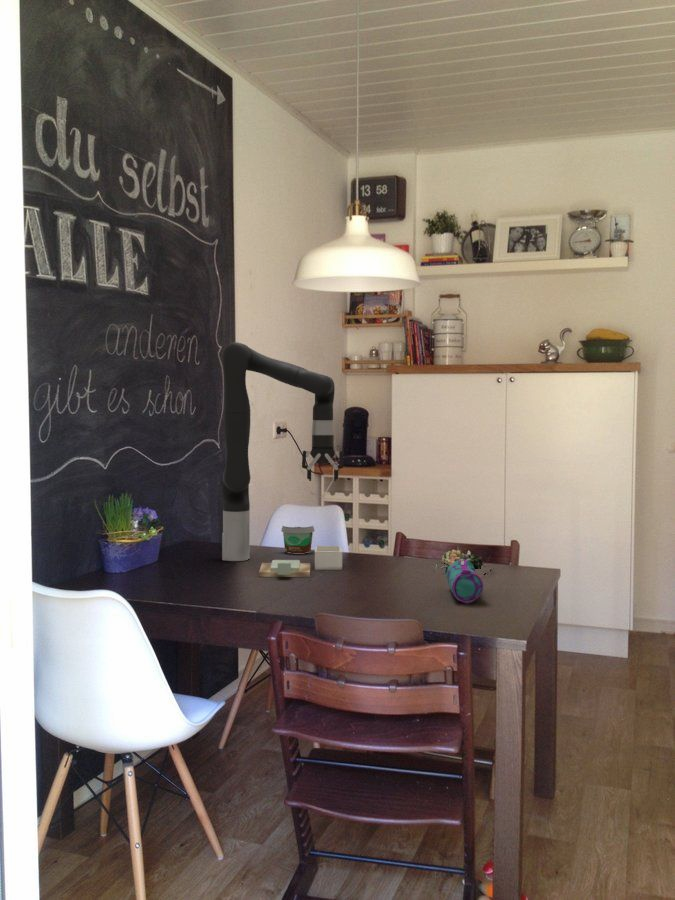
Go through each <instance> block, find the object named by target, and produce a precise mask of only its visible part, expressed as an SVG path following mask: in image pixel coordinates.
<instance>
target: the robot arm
mask: <svg viewBox="0 0 675 900" xmlns="http://www.w3.org/2000/svg"><path fill="white" fill-rule="evenodd" d="M222 365H223V376H224V377H223V378H224V393H223V395H224V396H223V397H224V398H223V433H224V440H225V446H226V459H225V460H226V461H225V462H226V464H225V469H224V470H223V473H222V480H221V481H222V483H221V484H222V485H221V486H222V489H221V490H222V508H223V509H222V534H221V538H222V539H221V541H222V542H221V543H222V544H221V547H222V548H221V549H222V550H221V558H222V559H221V560H222V561H227V562H243V561H244V562H245V561H248V559H249V560H250V559H251V558H250V554H251V553H250V551H251V550H250V546H251V545H250V536H251V535H250V534H251V532H250V531H251V530H250V526H251V525H250V522H251V519H250V518H251V517H250V516H251V515H250V511H251V509H250V506H251V505H250V504H251V502H250V487H249V484H250V482H251V471H250V462H249V444H250V436H251V435H250V434H251V404H250V399H249V393H248V389H247V384H246V383H247V381H246V380H247V379H246V377H247V371H250V372H254V373H258V374H262V375H265V376H267V377H268V378H272V379H273V380H277V382H278V381H279V382H281V383H284V384H286V385H289V386H292V387H295V388H299V389H302V390H305V391H306V392H309V393H312V394H314V405H313V406H312V425H311V450H303V451H302V455H301V457H302V458H301V459H302V461H301V468H303V469H305V470H306V473H307V474H306V475H307V476H306V479H307V480H308V481H309V482H312V468H313V467H314V465H315V464H316V463H317V464H329V463H330V465H331V466H332V467H333V469H334V470H333V481H334V482H337V480H338V479H339V470H340V469H344V452H343V450H339V451H337V450H336V451H335V446H334V445H335V442H334V441H335V427H334V399H335V386H336V385H335V382H334V380H333V378H331V377H330V376H328V375H324V374H321V373H318V372H314V371H312V370H311V371H310V370H308V369H306V368H305V367H302V366H298V365H296V364H292V363H289V362H286V361H283V360H279V359H275V358H272V357H269V356H266V355H264V354H262V353H259V352H258V351H256V350H255V349H253V348H250V347H249V346H248V345H246V344H245V343H241V342H238V341H234V342H230V343H228V344H227V345H226V346H225V347H224V348H223V352H222ZM309 455H311V457H312V458H313V459H312V460H311V461H310V462H309V464H308V465H307V463H306V462H307V458H308V457H309ZM335 456H336V457H337V458H339V465H337V464H336V463H335V461H334V460H333V458H334V457H335Z"/></svg>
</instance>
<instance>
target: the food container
mask: <svg viewBox="0 0 675 900" xmlns="http://www.w3.org/2000/svg"><path fill="white" fill-rule="evenodd" d="M280 531H281V532H282V534H283V544H284V552H285V551H286V552H291V553H305V552H309V551H312V542H313V534H314V532H315V531H316V530H315V527H314V525H312V526H306V527H305V526H303V527H302V526H292V527H291V526H284V525H282V527H281V530H280Z"/></svg>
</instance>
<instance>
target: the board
mask: <svg viewBox="0 0 675 900" xmlns="http://www.w3.org/2000/svg"><path fill="white" fill-rule="evenodd" d="M271 564H272V562H262V563H261V565H260V568H259V571H258V577H259V578H310V577H311V563H310V562H300V567H299V572H291V575H278V572H270V567H271Z"/></svg>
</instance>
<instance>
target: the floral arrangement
mask: <svg viewBox="0 0 675 900" xmlns="http://www.w3.org/2000/svg"><path fill="white" fill-rule="evenodd" d="M459 546H460V545H459V542H458V543H457V547H456V549H457V550H455V549H452V550H451V551H450V550H448V551H447V550H446V549H447V547H444V550H443V551H444V552H443V553H444V554H443V555H442V557H441V558H442V559H441V561H445V562H446V563H449V565H451V564H452V563H453V562H455V561H457V560H461V559H462V558H463V559H465V560H468V561H469V562H470V563H471V564H472V565H473V566H474V568H475V569H481V566H482V565H483V566H484V562H485V561H484V559H482V556H477V555H474V554H471V553H472V552H471V551H470V550H468V551H467V553H463V549H461V548H460V547H459ZM438 563H439V562H437V563H436V566H433V568H434V567H435V569H436V568H442V569H443V568H445V567H447V566H448V565H445V564H444V563H442V564H443V565H445V566H442V567H437V564H438Z"/></svg>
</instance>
